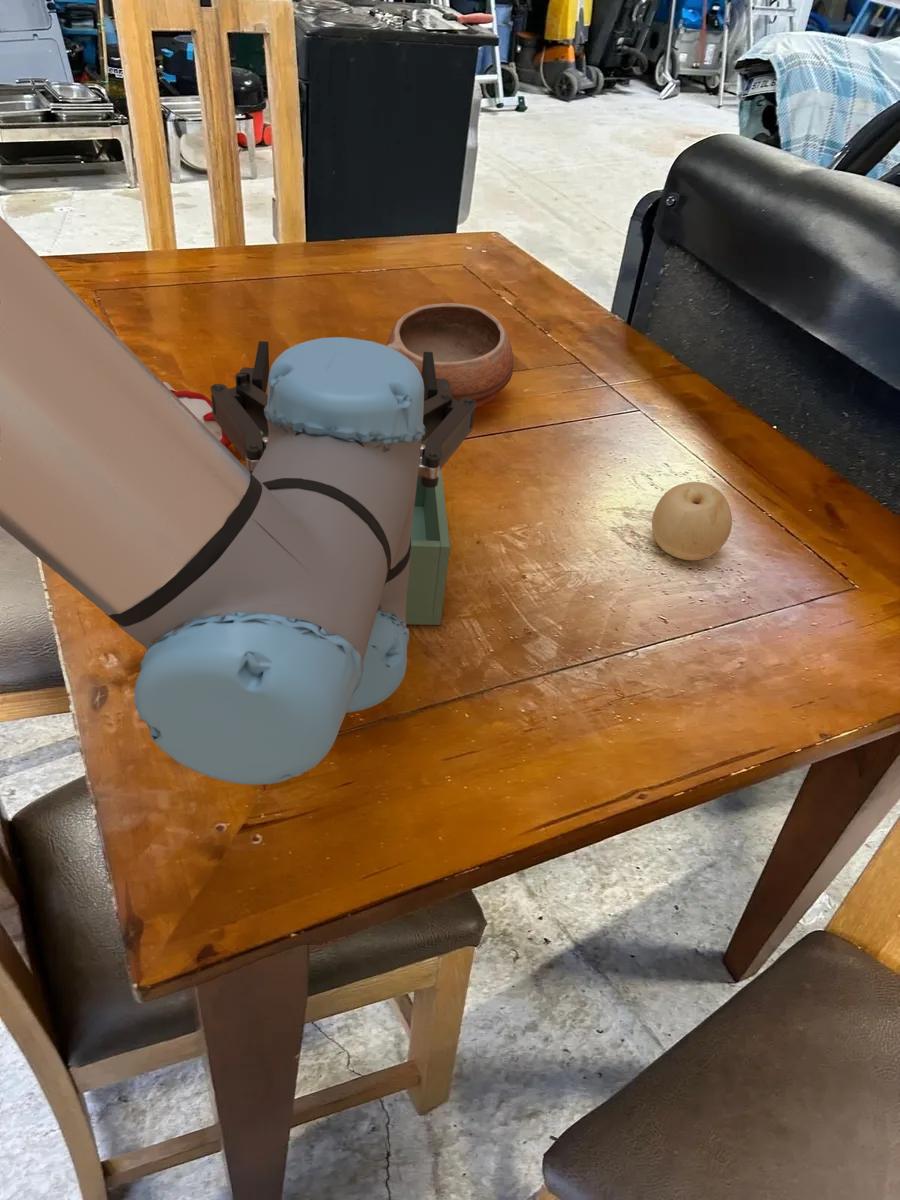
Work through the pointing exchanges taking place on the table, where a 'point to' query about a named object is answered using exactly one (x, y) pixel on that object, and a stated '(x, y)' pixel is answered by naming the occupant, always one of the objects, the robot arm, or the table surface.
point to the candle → (201, 412)
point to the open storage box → (427, 555)
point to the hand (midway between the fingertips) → (346, 361)
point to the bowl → (458, 347)
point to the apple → (692, 521)
